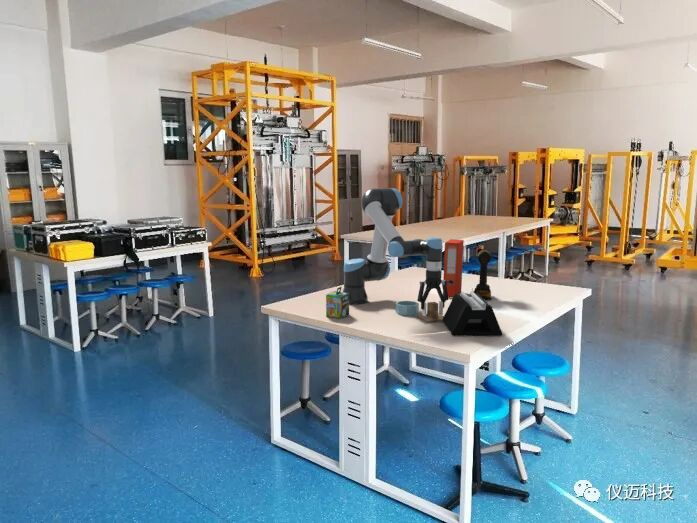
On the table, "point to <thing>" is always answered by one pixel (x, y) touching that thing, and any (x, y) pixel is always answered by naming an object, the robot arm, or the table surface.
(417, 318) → the mat
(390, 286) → the table surface
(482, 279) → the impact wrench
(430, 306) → the lid
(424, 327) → the table surface
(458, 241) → the file binder
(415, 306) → the bowl
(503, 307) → the table surface
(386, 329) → the table surface
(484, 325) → the device stand
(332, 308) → the chalk box
